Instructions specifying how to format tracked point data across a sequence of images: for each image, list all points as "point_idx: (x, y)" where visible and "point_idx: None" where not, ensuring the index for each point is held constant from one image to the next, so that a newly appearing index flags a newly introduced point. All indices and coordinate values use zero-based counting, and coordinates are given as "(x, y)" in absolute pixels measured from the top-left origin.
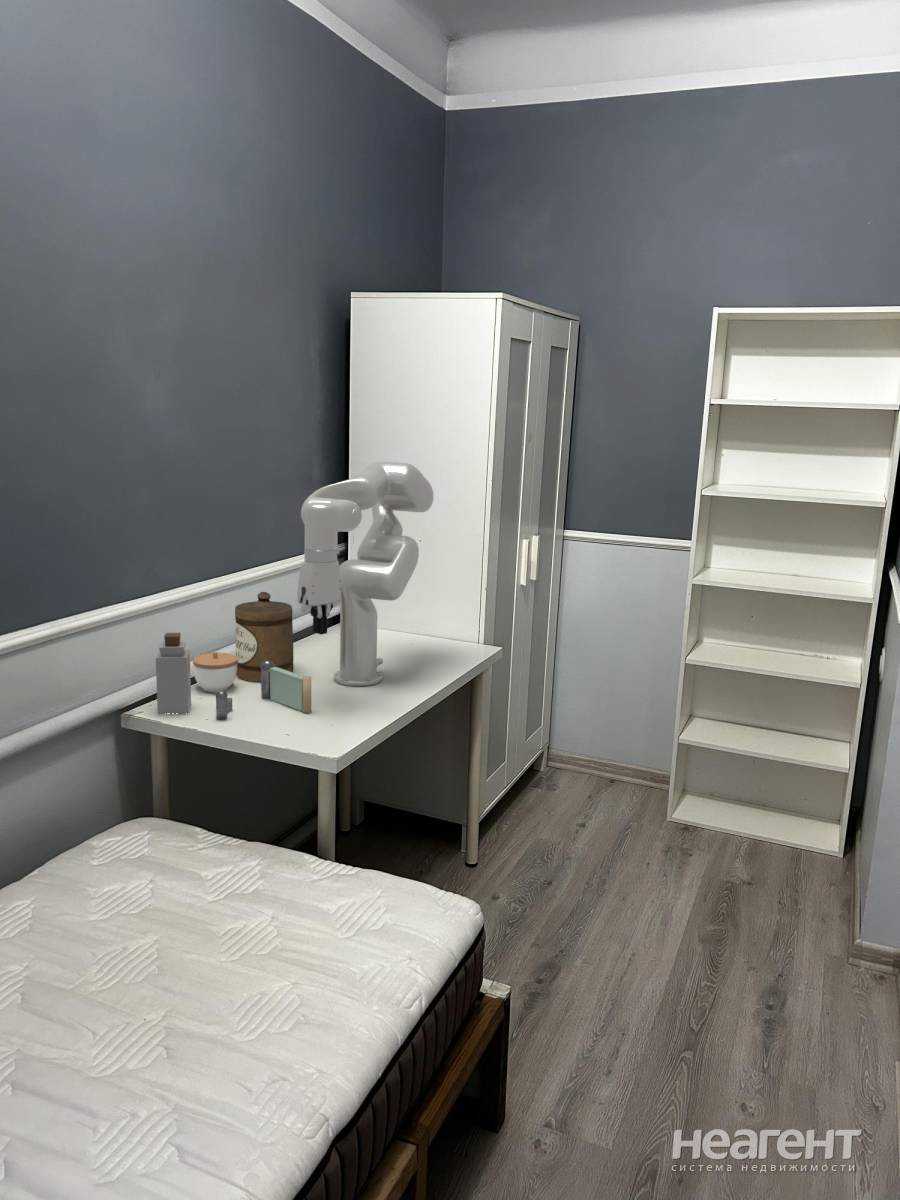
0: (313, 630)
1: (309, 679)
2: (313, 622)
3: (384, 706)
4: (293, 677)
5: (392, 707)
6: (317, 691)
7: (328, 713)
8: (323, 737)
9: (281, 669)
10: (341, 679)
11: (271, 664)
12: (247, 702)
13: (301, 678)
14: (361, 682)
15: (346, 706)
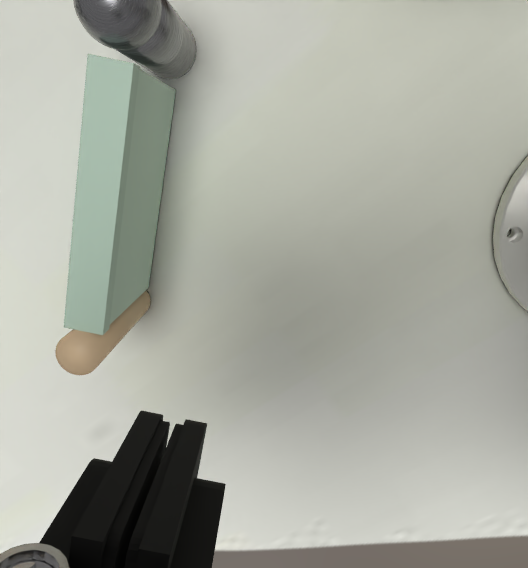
0: (135, 422)
1: (75, 371)
2: (62, 511)
3: (352, 474)
4: (71, 267)
5: (358, 498)
6: (363, 178)
7: (178, 363)
8: (4, 466)
9: (117, 130)
10: (517, 205)
11: (111, 37)
12: (69, 16)
13: (72, 321)
14: (521, 301)
15: (276, 374)
